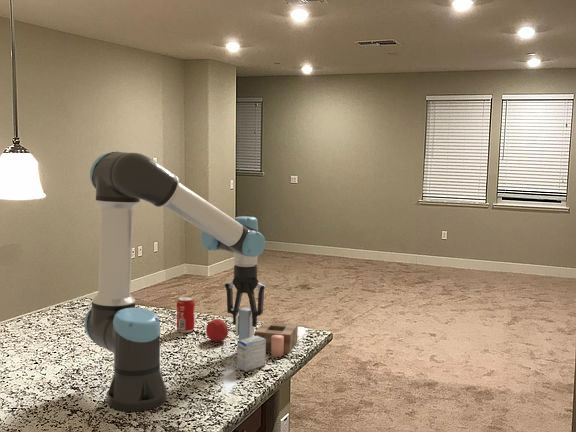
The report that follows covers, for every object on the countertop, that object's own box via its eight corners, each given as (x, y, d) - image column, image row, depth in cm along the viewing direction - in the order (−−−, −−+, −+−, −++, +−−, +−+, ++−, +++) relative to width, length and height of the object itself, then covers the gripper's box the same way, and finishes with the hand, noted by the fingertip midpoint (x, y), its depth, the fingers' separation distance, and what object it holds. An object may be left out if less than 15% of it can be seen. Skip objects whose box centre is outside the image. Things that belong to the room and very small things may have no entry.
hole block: (289, 352, 204) (290, 334, 204) (254, 349, 207) (254, 331, 206) (297, 341, 216) (297, 324, 215) (263, 338, 219) (263, 321, 218)
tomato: (208, 319, 210) (225, 311, 216) (198, 329, 215) (214, 320, 221) (221, 339, 208) (237, 331, 214) (210, 349, 214) (226, 340, 219)
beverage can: (197, 330, 227) (198, 298, 226) (186, 334, 222) (186, 301, 220) (184, 327, 230) (184, 295, 229) (173, 331, 225) (173, 298, 224)
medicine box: (256, 362, 195) (256, 335, 194) (265, 365, 192) (266, 338, 191) (236, 368, 189) (237, 340, 188) (246, 372, 186) (246, 343, 185)
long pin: (248, 354, 202) (249, 311, 201) (236, 352, 203) (237, 310, 201) (252, 350, 206) (252, 308, 204) (240, 349, 207) (241, 307, 205)
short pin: (281, 357, 200) (282, 339, 199) (269, 356, 201) (270, 338, 200) (284, 353, 204) (285, 335, 203) (272, 352, 205) (273, 334, 204)
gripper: (274, 263, 203) (272, 333, 206) (224, 260, 207) (223, 329, 209) (268, 268, 196) (267, 340, 198) (216, 264, 199) (216, 336, 202)
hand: (244, 334), depth 204 cm, fingers closed on long pin, 4 cm apart
